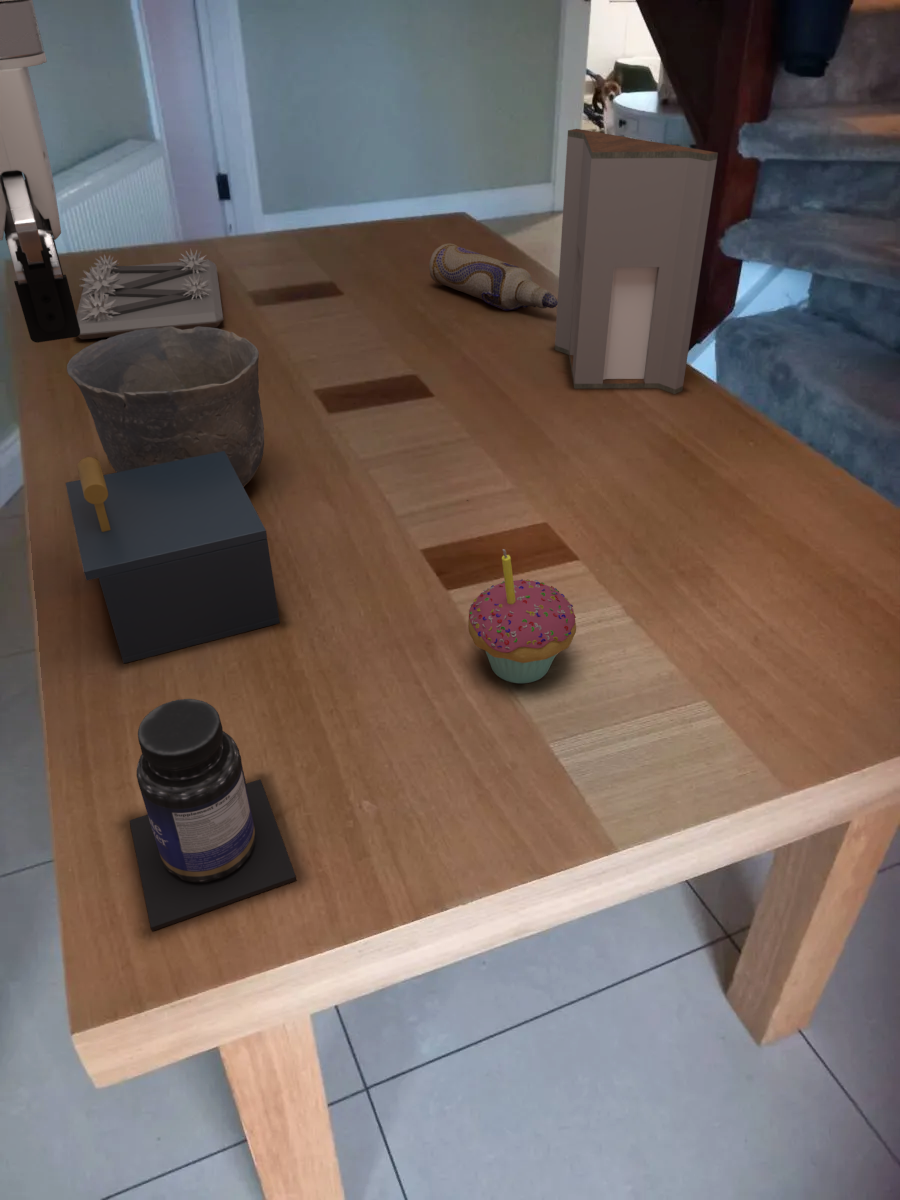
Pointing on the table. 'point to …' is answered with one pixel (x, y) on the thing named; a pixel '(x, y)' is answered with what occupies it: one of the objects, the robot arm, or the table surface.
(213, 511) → the lid
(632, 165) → the cabinet
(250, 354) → the bowl
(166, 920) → the mat
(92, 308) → the gray box with spikes
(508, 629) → the cupcake
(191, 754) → the pill bottle
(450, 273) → the decorative bottle
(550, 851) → the table surface
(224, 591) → the chest
